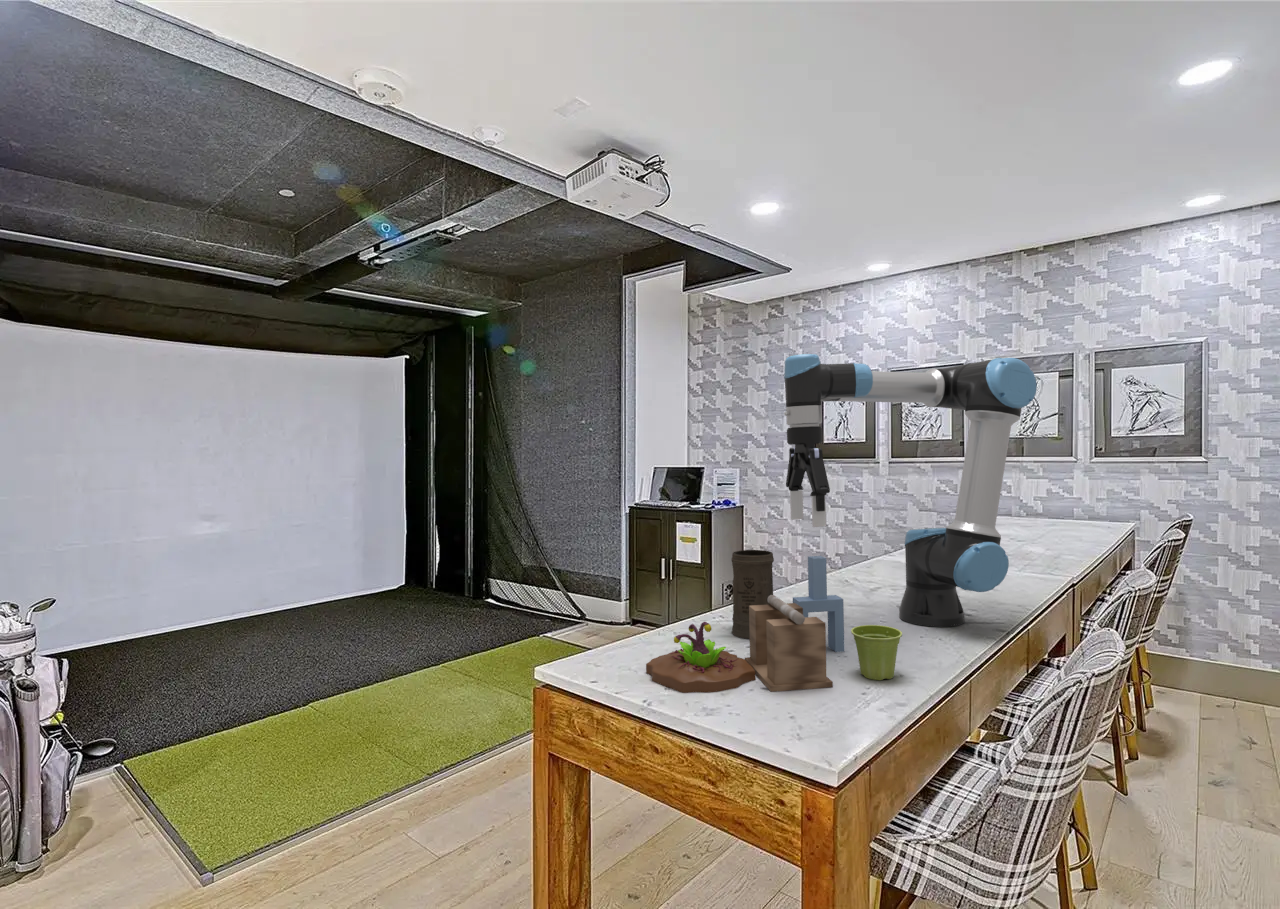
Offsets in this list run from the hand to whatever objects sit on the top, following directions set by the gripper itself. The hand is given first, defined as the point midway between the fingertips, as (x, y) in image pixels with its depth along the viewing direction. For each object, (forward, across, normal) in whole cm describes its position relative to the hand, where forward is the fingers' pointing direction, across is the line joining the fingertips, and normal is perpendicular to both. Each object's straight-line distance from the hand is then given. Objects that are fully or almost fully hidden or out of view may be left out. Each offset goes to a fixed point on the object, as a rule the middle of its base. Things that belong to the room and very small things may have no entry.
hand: (807, 523), depth 150 cm
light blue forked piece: (+28, +1, +1) cm, 28 cm away
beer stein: (+28, -17, -8) cm, 34 cm away
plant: (+28, +11, -27) cm, 41 cm away
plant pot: (+28, +18, +6) cm, 34 cm away
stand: (+28, +14, -11) cm, 33 cm away
